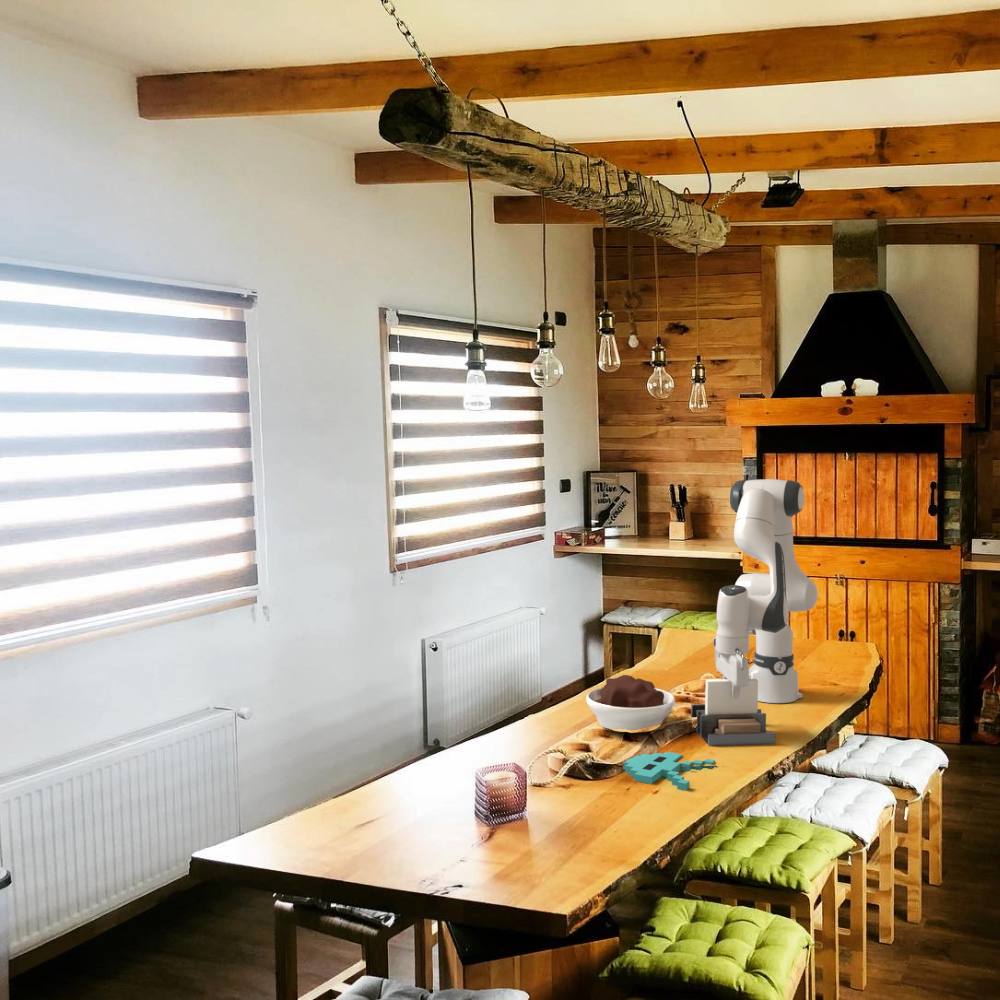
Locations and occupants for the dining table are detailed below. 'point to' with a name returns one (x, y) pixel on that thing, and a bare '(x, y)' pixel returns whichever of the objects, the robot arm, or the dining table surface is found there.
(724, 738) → the rack
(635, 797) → the dining table surface
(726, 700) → the tall sheet
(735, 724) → the offcut upper
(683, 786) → the alien figure
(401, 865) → the dining table surface
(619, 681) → the bowl of chocolate
